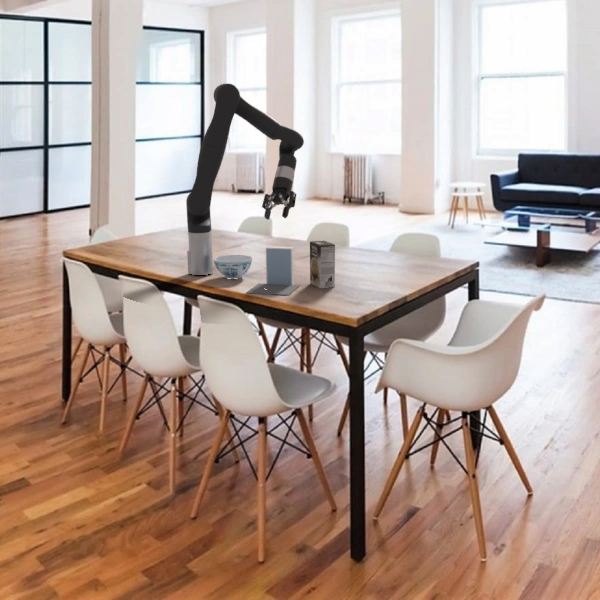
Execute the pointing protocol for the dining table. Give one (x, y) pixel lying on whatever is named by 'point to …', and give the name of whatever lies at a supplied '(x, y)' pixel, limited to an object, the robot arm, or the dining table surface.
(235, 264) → the chinaware
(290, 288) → the rubber mat
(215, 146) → the robot arm
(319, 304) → the dining table surface
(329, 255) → the coffee box
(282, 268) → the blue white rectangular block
